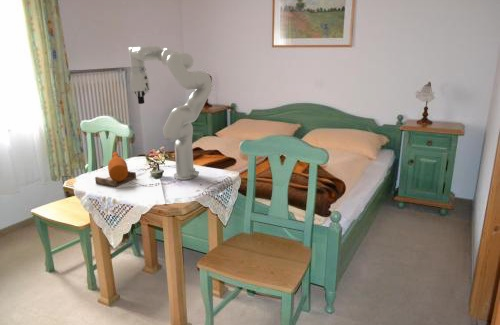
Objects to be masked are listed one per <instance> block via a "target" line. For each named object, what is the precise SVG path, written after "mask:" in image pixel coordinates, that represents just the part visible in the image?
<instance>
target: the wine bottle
mask: <svg viewBox="0 0 500 325" xmlns="http://www.w3.org/2000/svg"><path fill="white" fill-rule="evenodd" d="M107 169H108V175H109V177H111V179H113V180H116V181H123V180H124V179H126V177H127V176H128V171H129V169H128V164H127V162H126V160H125V159H124V158H123V157H121V156H119V153H118V152H117V151H114V152H113V153H112V158H111V159H110V160H109V161H108V165H107Z"/></svg>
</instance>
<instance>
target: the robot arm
mask: <svg viewBox="0 0 500 325" xmlns="http://www.w3.org/2000/svg"><path fill="white" fill-rule="evenodd" d="M128 54H129V64H130V77H129V78H130V79H129V80H130V82H129V84H130V90H131V93H133V94H135V95H136V97H137V103H138V105H142V104H145V95H146V94H149V91H150V88H151V87H150V80H149V76H148V73H147V72H146V71H147V68H146V66H145V62H148V61H149V62H150V61H160V62H161V63H162V65H163V66H165V67H167V68H168V70H169V71H170V73H171V74H172V77H173V78H174V80H176V82H177V83H178V85H179V87H181V88H182V89H184V90H186V91H190V90H191V91H192V90H193V91H192V93H191V94H190V95H189V97H188V99H187V101H186V102H185V103H184V105H180V106H177V107H174V108H173V109H172V110H171V111H170V113H169V115H168V118H167V119H166V122H165V124H164V126H163V129H162V135H163V137H164V139H165V140H166V141H168V142H174V157H175V170H176V172H175V173H174V174H173V177H174V179H176V180H180V181H184V180H186V181H187V180H190V179H191V180H192V179H195V178H196V177H198V176H199V175H200V171H199V170H196V168H195V167H194V154H193V153H194V152H193V136H194V135H193V134H194V126H193V124H192V123H194V122H195V121H197V120H198V118H199V116H200V113H201V111H202V110H203V109H204V106H205V105H206V102H207V101H208V98H209V97H210V94H211V93H212V90H213V88H212V87H213V84H212V82H213V81H212V79H211V77H210V75H209V74H208V73H207V72H205V71H201V70H196V71H188V70H190V69H191V68H193V66H194V63H195V62H194V58H193V56H192V55H191V54H190V53H188V52H184V51H178V50H173V49H169V48H167V47H164V46H163V47H162V46H157V45H144V46H143V45H142V46H141V45H140V46H130V47H128Z"/></svg>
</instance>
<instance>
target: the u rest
mask: <svg viewBox="0 0 500 325" xmlns="http://www.w3.org/2000/svg"><path fill="white" fill-rule="evenodd" d="M136 174H137V173H136V172H135V171H129V170H128V176H127V177H126V179H124V180H123V181H116V180H113V179H111V177H110V176H107V177H106V178H105V177H100V176H96V177H95V178H94V180H95V184H96V185H102V186H106V187H110V188H117V187H119V186H122V185H125V184H127V183H129V182H131V181H133V180H136V179H137V175H136Z"/></svg>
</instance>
